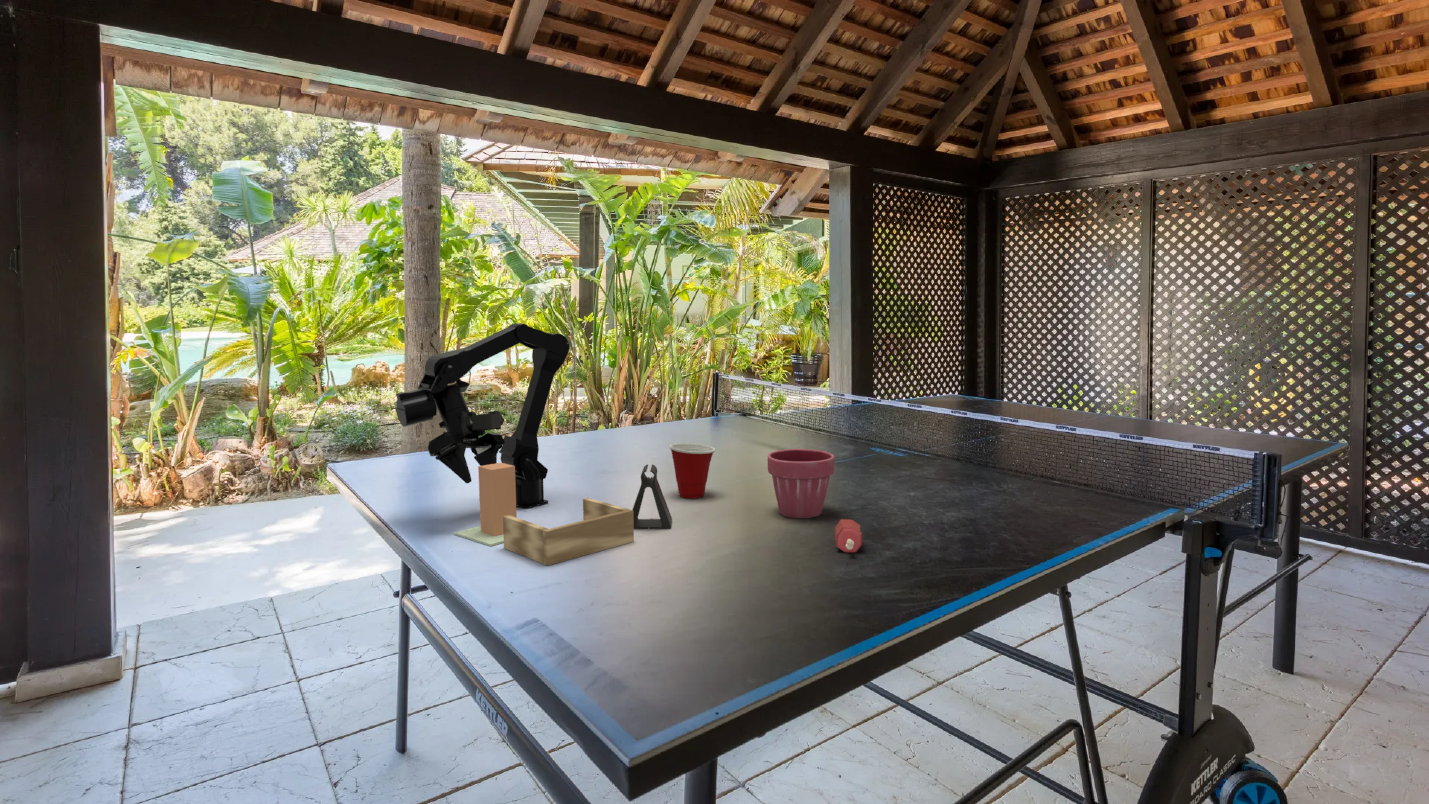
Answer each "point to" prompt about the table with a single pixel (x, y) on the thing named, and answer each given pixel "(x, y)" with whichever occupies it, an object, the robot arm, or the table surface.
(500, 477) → the block
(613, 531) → the u-shaped frame
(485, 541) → the mat
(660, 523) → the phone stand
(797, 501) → the plant pot
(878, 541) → the table surface
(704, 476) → the plastic cup
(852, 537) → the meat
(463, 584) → the table surface
